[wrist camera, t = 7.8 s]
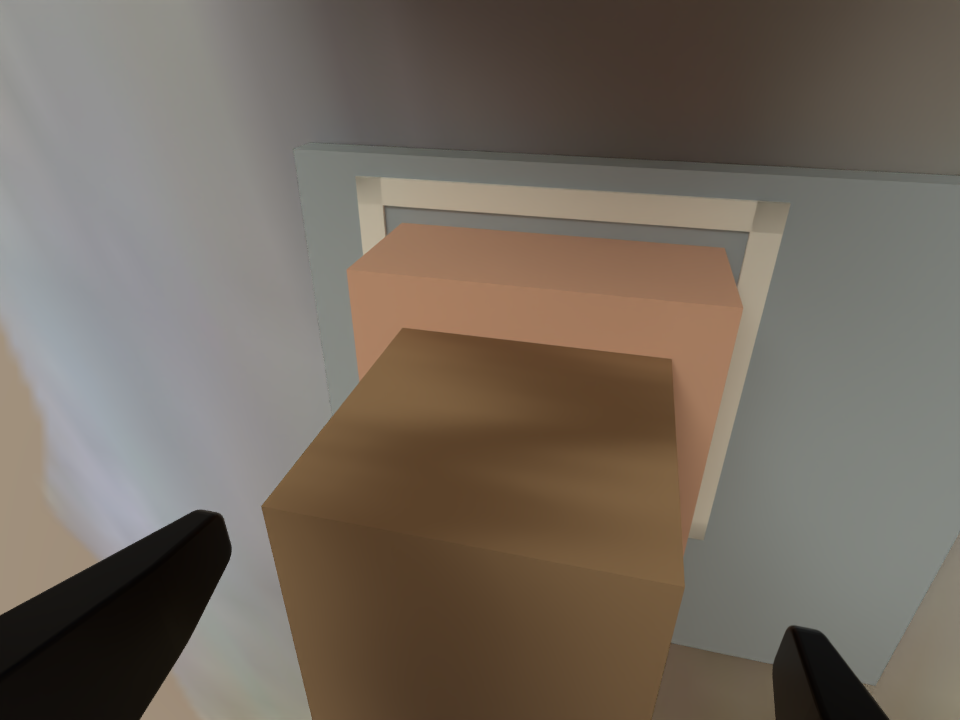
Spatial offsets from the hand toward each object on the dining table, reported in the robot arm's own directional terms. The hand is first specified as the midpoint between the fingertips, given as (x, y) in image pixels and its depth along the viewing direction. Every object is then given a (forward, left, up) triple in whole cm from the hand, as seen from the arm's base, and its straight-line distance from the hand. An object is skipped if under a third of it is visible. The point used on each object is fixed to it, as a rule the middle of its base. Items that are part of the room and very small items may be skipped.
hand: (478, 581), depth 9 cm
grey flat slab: (-2, +2, -7) cm, 8 cm away
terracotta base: (0, 0, -6) cm, 6 cm away
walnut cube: (0, 0, -3) cm, 3 cm away
